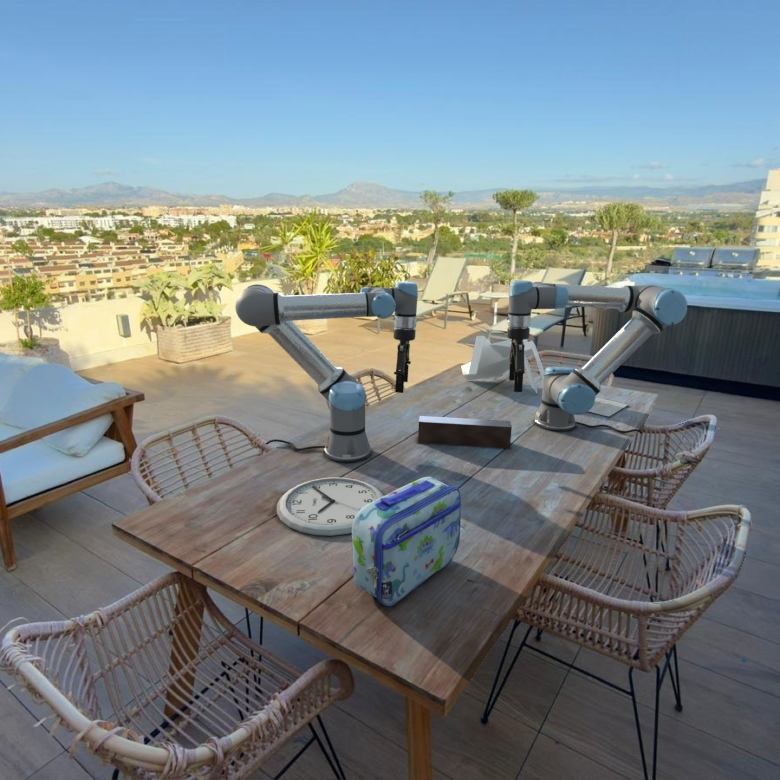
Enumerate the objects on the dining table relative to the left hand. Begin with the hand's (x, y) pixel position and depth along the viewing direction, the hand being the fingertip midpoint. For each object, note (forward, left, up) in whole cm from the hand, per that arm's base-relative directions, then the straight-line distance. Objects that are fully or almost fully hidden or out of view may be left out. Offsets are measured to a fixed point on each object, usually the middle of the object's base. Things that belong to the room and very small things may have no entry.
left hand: (401, 387), depth 186 cm
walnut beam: (+22, +7, -19) cm, 30 cm away
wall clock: (+9, -54, -19) cm, 57 cm away
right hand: (+35, +21, +1) cm, 40 cm away
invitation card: (+57, +76, -19) cm, 97 cm away
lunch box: (+42, -70, -19) cm, 83 cm away
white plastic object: (+10, +79, -19) cm, 82 cm away
